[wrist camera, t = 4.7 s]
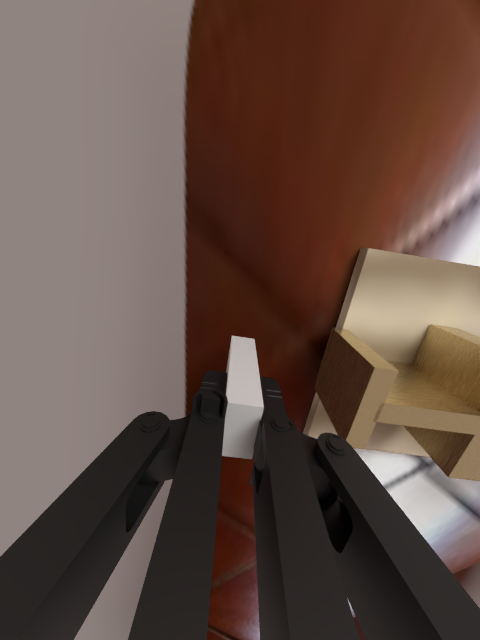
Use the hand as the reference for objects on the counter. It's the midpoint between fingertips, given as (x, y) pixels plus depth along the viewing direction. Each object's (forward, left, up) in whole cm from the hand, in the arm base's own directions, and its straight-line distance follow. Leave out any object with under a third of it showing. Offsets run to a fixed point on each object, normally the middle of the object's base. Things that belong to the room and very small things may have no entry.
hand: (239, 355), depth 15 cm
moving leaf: (0, +11, -1) cm, 11 cm away
